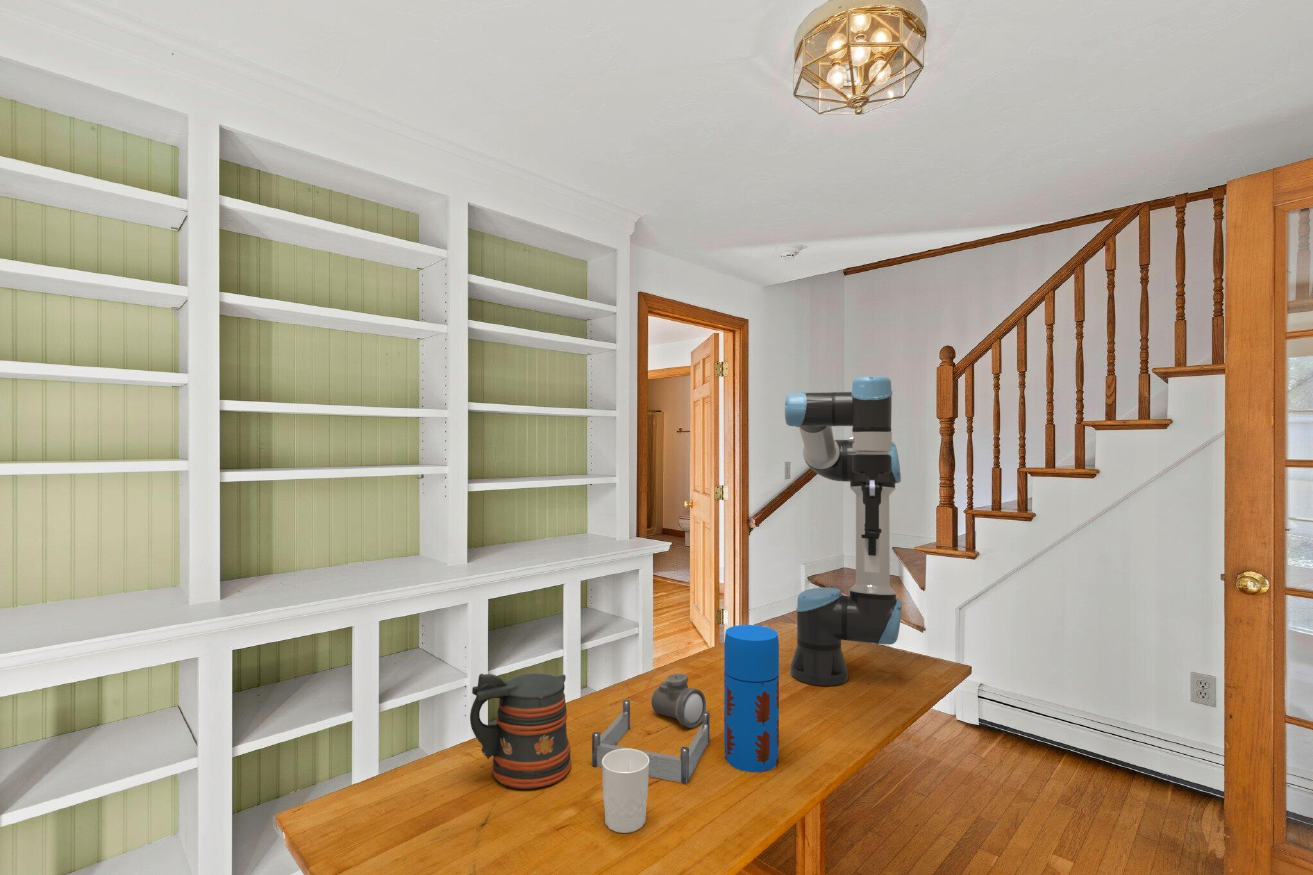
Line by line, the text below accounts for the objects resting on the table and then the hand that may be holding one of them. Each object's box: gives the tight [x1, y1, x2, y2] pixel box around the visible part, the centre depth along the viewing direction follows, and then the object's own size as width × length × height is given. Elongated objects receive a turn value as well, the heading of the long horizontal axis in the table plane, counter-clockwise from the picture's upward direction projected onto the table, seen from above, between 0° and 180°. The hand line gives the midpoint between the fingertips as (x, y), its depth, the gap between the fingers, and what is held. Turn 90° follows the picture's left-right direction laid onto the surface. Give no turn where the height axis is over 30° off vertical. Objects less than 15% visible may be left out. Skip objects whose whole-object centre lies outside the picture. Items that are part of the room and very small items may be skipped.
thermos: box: [723, 624, 780, 773], centre depth 121 cm, size 11×11×25 cm
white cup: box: [601, 748, 650, 834], centre depth 101 cm, size 8×8×10 cm
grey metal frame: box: [591, 699, 711, 785], centre depth 123 cm, size 18×20×6 cm
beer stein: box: [469, 673, 572, 790], centre depth 115 cm, size 19×15×20 cm
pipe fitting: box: [650, 673, 707, 729], centre depth 138 cm, size 12×8×10 cm
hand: (871, 568), depth 122 cm, fingers open, 6 cm apart
